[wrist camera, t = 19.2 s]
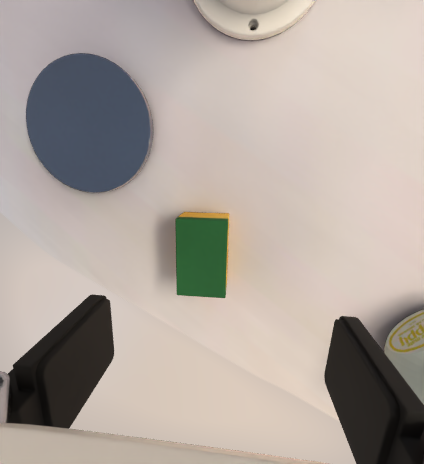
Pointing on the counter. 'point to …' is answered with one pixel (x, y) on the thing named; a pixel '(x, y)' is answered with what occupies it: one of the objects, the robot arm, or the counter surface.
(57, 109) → the plate
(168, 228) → the counter surface
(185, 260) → the sponge
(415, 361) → the air freshener
